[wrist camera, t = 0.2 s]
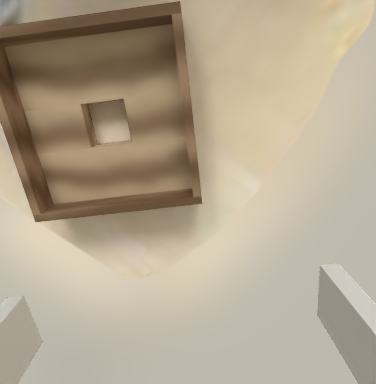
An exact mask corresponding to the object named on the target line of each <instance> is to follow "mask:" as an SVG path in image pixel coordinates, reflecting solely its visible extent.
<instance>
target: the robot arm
mask: <svg viewBox="0 0 376 384" xmlns="http://www.w3.org/2000/svg"><path fill="white" fill-rule="evenodd" d="M317 315H318V317H319V319H320V320H321V322H322V324H323V325H324V327H325V329H326V330H327V332H328V334H329V335H330V337H331V339H332V340H333V342H334V343H335V345H336V347H337V349H338V350H339V352H340V354H341V355H342V357H343V359H344V360H345V362H346V364H347V365H348V367H349V369H350V370H351V372H352V374H353V375H354V377H355V379H356V380H357V382H358V384H376V304H375V303H374V302H373V301H372V300H371V299H370V297H369V296H368V295H367V294H366V293H365V292H364V291H363V290H362V289H361V288H360V287H359V285H358V284H357V283H356V282H355V281H354V280H353V279H352V278H351V277H350V276H349V275H348V273H347V272H346V271H345V270H344V269H343V268H342V267H341V266H340V265H339V264H338V263H335V264H325V265H320V275H319V293H318V312H317ZM42 342H43V341H42V339H41V337H40V334H39V332H38V329H37V327H36V324H35V322H34V320H33V317H32V315H31V312H30V310H29V308H28V305H27V303H26V301H25V298H24V296H20V297H10V298H6V300H5V301H4V302H3V303H2V304H1V305H0V384H18V382H19V381H20V379H21V377H22V376H23V374H24V372H25V371H26V369H27V367H28V365H29V364H30V362H31V360H32V359H33V357H34V355H35V354H36V352H37V350H38V349H39V347H40V345H41V344H42Z"/></svg>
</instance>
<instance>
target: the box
mask: <svg viewBox="0 0 376 384" xmlns="http://www.w3.org/2000/svg"><path fill="white" fill-rule="evenodd" d="M122 99H124V103H125V109H126V114H127V119H128V124H129V130H130V135H131V141H123V142H115V143H106V144H98V145H97V141H96V137H95V133H94V129H93V124H92V120H91V116H90V112H89V108H88V104H90V103H98V102H106V101H114V100H122ZM0 122H1V124H2V127H3V130H4V133H5V136H6V139H7V142H8V144H9V147H10V150H11V153H12V156H13V159H14V162H15V165H16V167H17V170H18V173H19V176H20V179H21V182H22V185H23V187H24V190H25V193H26V196H27V199H28V202H29V205H30V207H31V210H32V213H33V216H34V219H35V222H41V221H50V220H59V219H68V218H77V217H86V216H95V215H104V214H113V213H122V212H131V211H140V210H149V209H158V208H167V207H176V206H185V205H194V204H202V198H201V189H200V180H199V171H198V162H197V152H196V143H195V134H194V125H193V116H192V107H191V97H190V88H189V79H188V70H187V61H186V52H185V42H184V33H183V24H182V15H181V6H180V1H179V2H172V3H165V4H158V5H151V6H144V7H137V8H130V9H123V10H115V11H108V12H101V13H94V14H87V15H80V16H73V17H66V18H59V19H52V20H45V21H38V22H30V23H23V24H16V25H9V26H2V27H0Z"/></svg>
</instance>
